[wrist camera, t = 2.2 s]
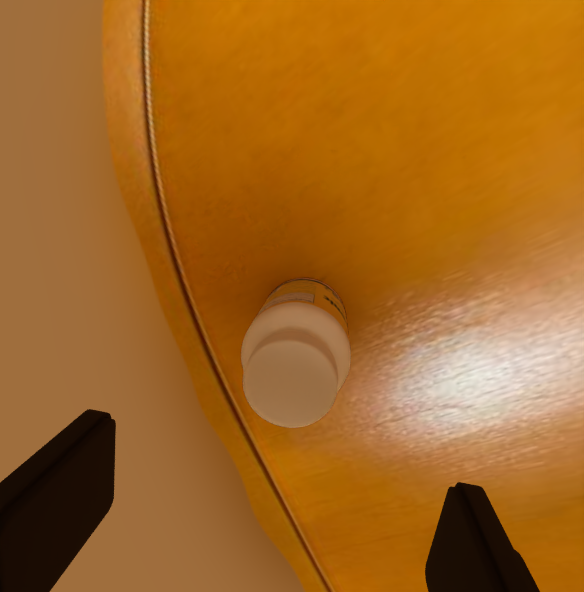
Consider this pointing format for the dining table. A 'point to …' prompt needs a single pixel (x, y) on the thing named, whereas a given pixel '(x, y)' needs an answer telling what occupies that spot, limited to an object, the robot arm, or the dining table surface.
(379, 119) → the dining table surface
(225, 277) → the dining table surface
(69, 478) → the robot arm
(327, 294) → the supplement bottle
